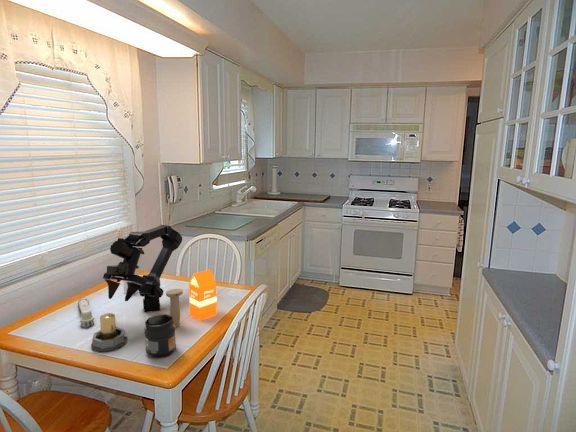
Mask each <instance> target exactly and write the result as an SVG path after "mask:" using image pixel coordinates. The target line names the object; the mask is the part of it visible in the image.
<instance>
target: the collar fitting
mask: <svg viewBox="0 0 576 432" xmlns="http://www.w3.org/2000/svg"><path fill="white" fill-rule="evenodd" d="M125 331H126V330H125V329H124V328H121V327H117V326H116V335H117V337H115V338H114V339H108V340H101V338H102V337H101V329H100V330H97V331H96V332H94V333H93V336H92V342H91V344H90V347H91V350H92V351H93V352H97V353H108V352H112V351H116V350H119V349H121V348H122V347H124V346H126V344H127V342H128V337H127V336H126V332H125Z"/></svg>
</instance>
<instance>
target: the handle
mask: <svg viewBox="0 0 576 432" xmlns="http://www.w3.org/2000/svg"><path fill="white" fill-rule="evenodd" d="M183 294H184V293H183V289H181V288H173V289H169V290H167V291H166V292H165V295H166V297H168V298H170V299H169V300H170V302H169V303H170V305H169V306H170V307H169V315H170V316H172V317H173V318H174V325H175V327H176V328H178V327H180V325H181V305H180V296H182V295H183Z"/></svg>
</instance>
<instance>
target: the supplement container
mask: <svg viewBox="0 0 576 432" xmlns="http://www.w3.org/2000/svg"><path fill="white" fill-rule="evenodd" d="M144 323H145V325H144V326H145V328H144V333H143V334H144V343H145V344H144V345H145V349H144V350H145V353H146V355H147V356H148V357H151V358H155V359H159V358H161V359H162V358H165V357H168V356H170V355H171V354H173V353H174V352H175V351H176V348H177V339H176V338H177V337H176V328H177V327H175V325H174V318H173V317H172V316H170V314H163V313H162V314H156V315H153V316H150V317H148V318H147V319H146V320H145V322H144Z"/></svg>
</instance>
